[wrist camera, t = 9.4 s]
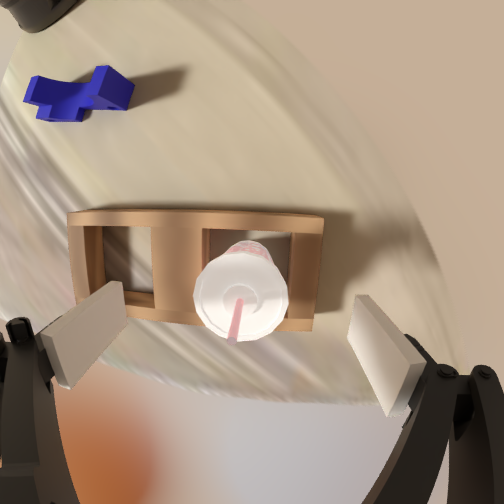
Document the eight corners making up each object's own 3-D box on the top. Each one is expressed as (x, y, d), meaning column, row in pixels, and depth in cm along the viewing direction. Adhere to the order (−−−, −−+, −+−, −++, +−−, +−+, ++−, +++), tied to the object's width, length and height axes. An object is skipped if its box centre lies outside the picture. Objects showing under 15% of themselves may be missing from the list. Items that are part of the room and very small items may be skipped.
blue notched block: (50, 122, 23) (19, 114, 17) (61, 89, 22) (31, 77, 16) (123, 124, 23) (92, 110, 18) (135, 85, 22) (108, 65, 17)
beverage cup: (202, 260, 26) (144, 328, 12) (251, 218, 25) (237, 249, 11) (244, 306, 27) (228, 405, 13) (293, 267, 26) (323, 346, 12)
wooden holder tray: (93, 296, 27) (77, 307, 24) (86, 210, 25) (66, 212, 22) (306, 315, 27) (311, 331, 23) (315, 215, 24) (324, 218, 21)
